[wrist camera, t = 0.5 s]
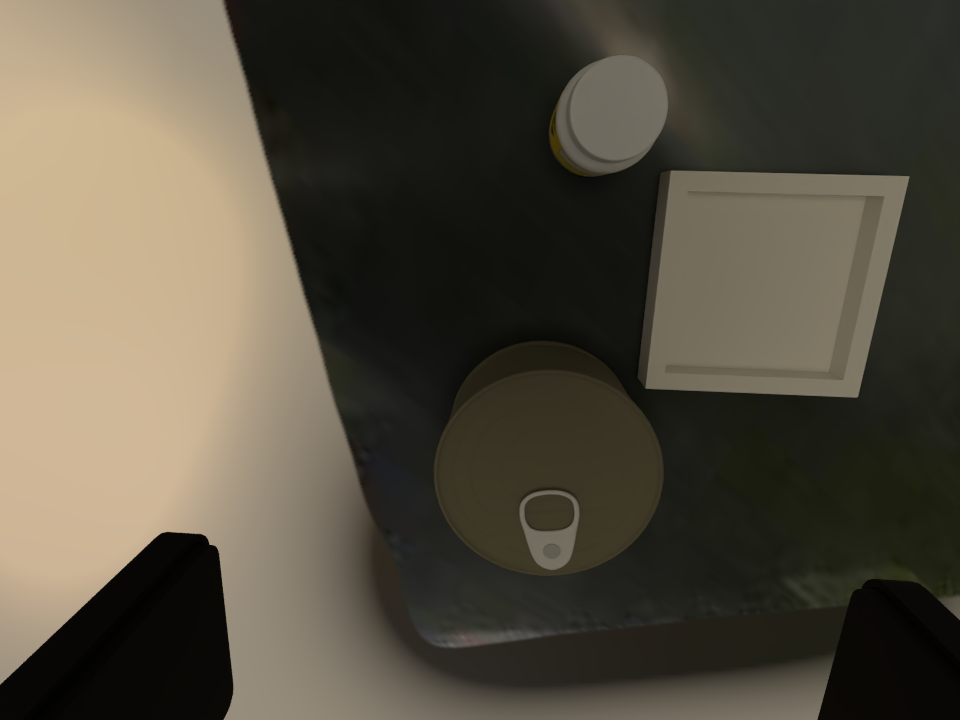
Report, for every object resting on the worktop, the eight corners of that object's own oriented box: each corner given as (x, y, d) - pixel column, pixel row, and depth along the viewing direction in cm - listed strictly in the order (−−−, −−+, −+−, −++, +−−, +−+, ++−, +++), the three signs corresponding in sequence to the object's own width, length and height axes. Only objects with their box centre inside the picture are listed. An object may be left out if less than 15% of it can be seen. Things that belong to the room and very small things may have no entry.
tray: (660, 172, 31) (671, 170, 29) (882, 177, 30) (909, 176, 28) (637, 377, 34) (645, 388, 32) (836, 385, 33) (857, 397, 31)
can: (634, 329, 33) (664, 361, 27) (636, 504, 37) (663, 572, 30) (438, 344, 34) (420, 378, 28) (457, 513, 37) (446, 580, 31)
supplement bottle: (579, 66, 29) (606, 15, 21) (652, 115, 30) (704, 84, 22) (530, 148, 31) (538, 130, 23) (601, 194, 31) (632, 192, 23)
